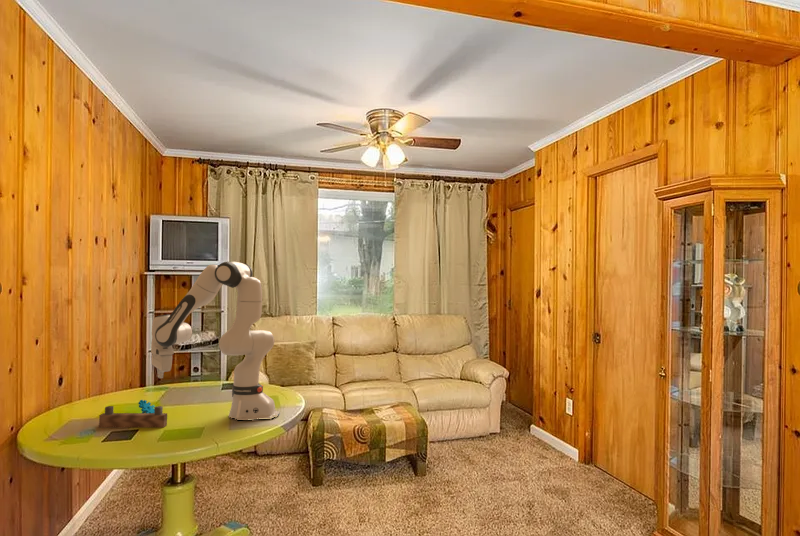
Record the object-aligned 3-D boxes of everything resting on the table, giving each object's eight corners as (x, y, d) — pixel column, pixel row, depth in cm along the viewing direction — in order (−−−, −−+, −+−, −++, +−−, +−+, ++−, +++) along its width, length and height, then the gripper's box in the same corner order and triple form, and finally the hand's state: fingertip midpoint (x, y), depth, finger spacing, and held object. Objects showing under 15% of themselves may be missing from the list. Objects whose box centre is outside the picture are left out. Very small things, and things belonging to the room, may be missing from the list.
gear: (151, 416, 202) (136, 400, 203) (140, 426, 202) (126, 409, 203) (163, 413, 213) (149, 397, 214) (153, 422, 213) (139, 406, 213)
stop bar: (166, 425, 197) (167, 406, 197) (163, 427, 194) (164, 408, 194) (103, 425, 195) (103, 406, 195) (98, 427, 192) (99, 408, 192)
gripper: (148, 346, 226) (147, 374, 225) (160, 352, 210) (158, 382, 210) (162, 345, 230) (161, 372, 230) (175, 351, 214) (173, 381, 214)
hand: (160, 377), depth 220 cm, fingers closed
